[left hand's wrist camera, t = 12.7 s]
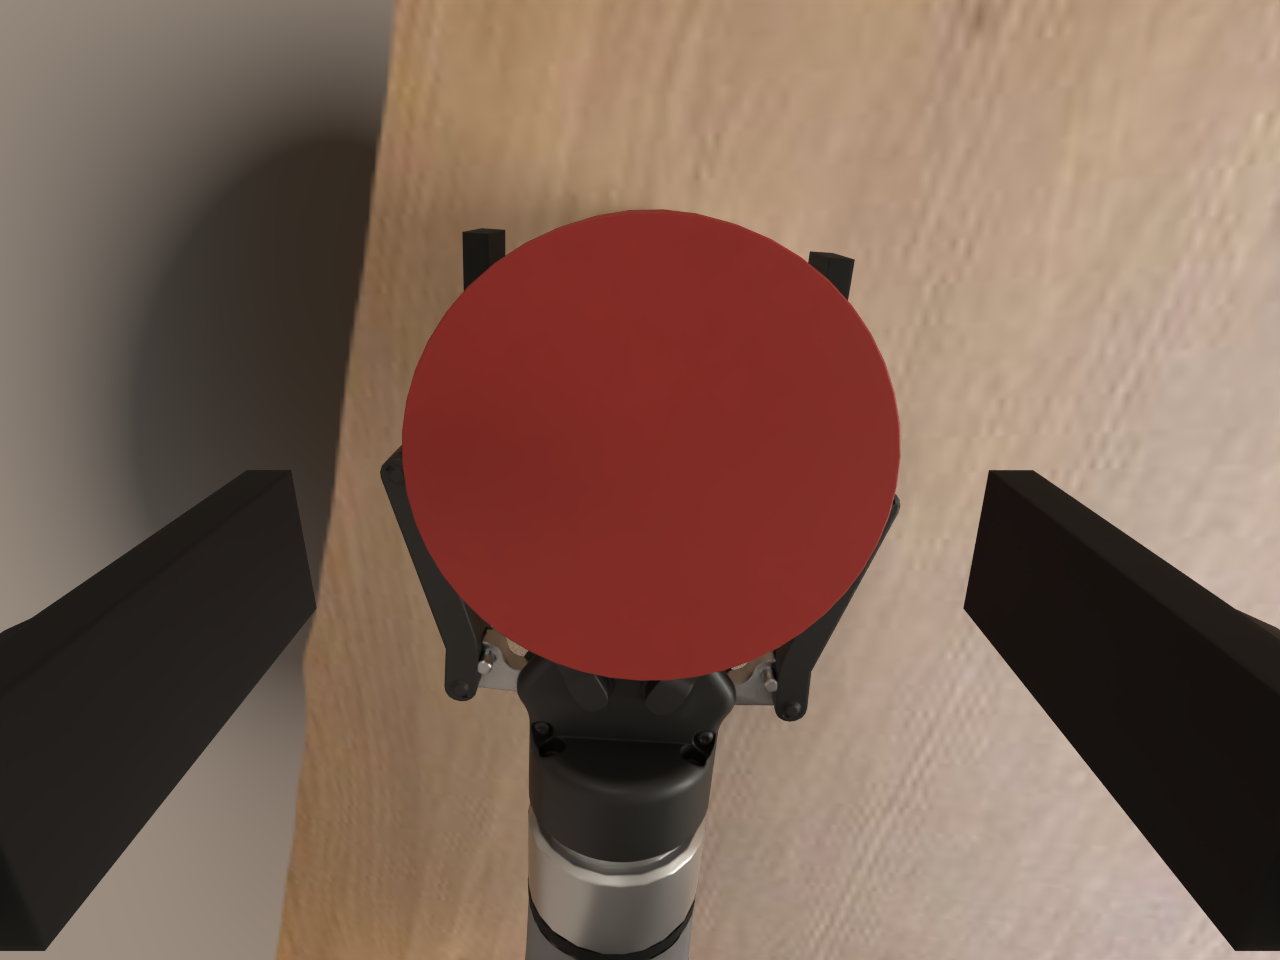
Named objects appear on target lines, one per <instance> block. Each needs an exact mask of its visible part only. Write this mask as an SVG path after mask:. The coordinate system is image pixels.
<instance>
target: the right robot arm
mask: <svg viewBox="0 0 1280 960" xmlns="http://www.w3.org/2000/svg"><path fill="white" fill-rule="evenodd" d="M503 257H505V230H498V229H484V228H481V229H476V230H471V231H466V232H463V274H464V291H465V290H466V288H467V287H468V286H469V285H470V284H471V283H473V282H474V281H475V280H476V279H477V278H478V277H479V276H480V275H482V274H483V273H484V272H485V271H486V270H487V269H488V268H490V267H491V266H492V265H493V264H494V263H495V262H497V261H499V260H500V259H502V258H503ZM854 261H855V260H854V259H851V258H847V257H844V256H841V255H837V254H834V253H824V252H810V255H809V262H808V263H809V264H810V265H811V266H812V267H814V268H815V269H816V270H817V271H818V272H820V273H821V274H822V275H823V276H825V277H826V278H827V279H828V280H829V281H830V282H831V283H832V284H833V285H834V286H835V287H836V288H837V290H838V291H839V292H840V293H841V294H842V295H843V296H844V297H845V298H846V299H847V300H848V296H849V291H850V285H851V279H852V273H853V267H854ZM380 474H381V479H382V482H383V484H384V487H385V490H386V492H387V495H388V498H389V500H390V503H391V506H392V508H393V511H394V513H395V516H396V519H397V521H398V524H399V527H400V529H401V532H402V534H403V537H404V540H405V542H406V545H407V548H408V550H409V553H410V556H411V558H412V561H413V563H414V566H415V569H416V571H417V574H418V577H419V579H420V582H421V585H422V587H423V590H424V592H425V595H426V598H427V600H428V603H429V606H430V608H431V611H432V614H433V616H434V619H435V621H436V624H437V627H438V629H439V632H440V635H441V637H442V640H443V643H444V645H445V648H446V661H445V691H446V693H447V694H448V696H450V697H451V698H453V699H454V700H458V701H467V700H469V699H472V697H473V696H474V695H475V694H476V691H477V688H478V687H484V688H493V689H502V690H511V691H517V692H518V695H519V697H520V699H521V701H522V702H523V704H524V705H525V707H526V709H527V711H528V714H529V718H530V744H529V798H530V805H529V810H528V873H529V875H528V892H529V906H528V925H527V944H526V957H525V960H689V947H690V936H691V924H692V914H693V907H694V903H695V895H696V889H697V885H698V879H699V872H700V865H701V857H702V850H703V843H704V836H705V828H706V811H707V808H708V802H709V794H710V787H711V779H712V772H713V764H714V757H715V749H716V742H717V735H718V730H719V727H720V725H721V723H722V721H723V720H724V718H725V717H726V716H727V715H728V714H729V713H730V711H731V710H732V708H733V706H734V705H774V708H775V712H776V714H777V716H778V717H779V718H781V719H782V720H784V721H796V720H798V719H800V718H802V717H803V716H804V714H805V713H806V710H807V704H808V695H809V686H810V677H811V671H812V669H813V667H814V666H815V664H816V662H817V660H818V658H819V656H820V655H821V653H822V651H823V649H824V647H825V645H826V644H827V642H828V640H829V638H830V636H831V635H832V633H833V631H834V629H835V627H836V625H837V624H838V622H839V620H840V618H841V616H842V614H843V613H844V611H845V609H846V607H847V605H848V603H849V602H850V600H851V598H852V596H853V594H854V593H855V591H856V589H857V587H858V585H859V583H860V582H861V580H862V578H863V576H864V574H865V572H866V571H867V569H868V567H869V565H870V563H871V562H872V560H873V558H874V556H875V554H876V552H877V551H878V549H879V547H880V545H881V543H882V541H883V540H884V538H885V536H886V534H887V532H888V530H889V529H890V527H891V525H892V523H893V521H894V520H895V518H896V516H897V514H898V512H899V509H900V500H899V498H898V497H897V495H896V494H895V495H894V499H893V503H892V507H891V511H890V515H889V518H888V520H887V522H886V525H885V527H884V530H883V532H882V535H881V537H880V540H879V542H878V544H877V546H876V548H875V549H874V551H873V553H872V555H871V556H870V558H869V560H868V562H867V563H866V565H865V567H864V569H863V570H862V572H861V573H860V574H859V576H858V577H857V578H856V580H855V581H854V582H853V583H852V585H851V586H850V587H849V589H848V590H847V591H846V593H845V594H844V595H843V596H842V597H841V598H840V599H839V600H838V601H837V602H836V603H835V604H834V605H833V606H832V607H831V608H830V609H829V610H828V611H827V612H826V614H824V615H823V616H822V617H821V618H819V619H818V620H817V621H816V622H815V623H813V624H812V625H811V626H810V627H808V628H807V629H806V630H805V631H803V632H802V633H801V634H799V635H797V636H796V637H794V638H793V639H791V640H790V641H788V642H786V643H785V644H783V645H782V646H780V647H779V648H777V649H775V650H773V651H771V652H769V653H766V654H764V655H762V656H760V657H758V658H756V659H754V660H752V661H749V662H748V663H747V664H746V665H745V666H744V667H743V668H740V669H737V670H731V668H729V669H727V670H723V671H719V672H715V673H710V674H706V675H702V676H698V677H690V678H682V679H674V680H629V679H619V678H610V677H605V676H600V675H595V674H591V673H586V672H581V671H578V670H575V669H572V668H569V667H566V666H563V665H560V664H557V663H554V662H552V661H550V660H548V659H546V658H543V657H541V656H539V655H537V654H535V653H533V652H530V651H528V652H527V653H526V655H525V656H524V657H523V656H518V655H516V654H514V653H513V652H512V651H511V650H510V649H509V647H508V643H507V639H506V638H505V636H504V635H502V634H501V633H500V632H498V631H497V630H496V629H495V628H493V627H491V625H489V624H488V623H487V622H486V621H484V620H483V619H482V618H481V617H480V616H479V615H478V614H477V613H476V612H475V611H473V610H472V609H471V608H470V607H469V606H468V605H467V604H466V603H465V602H464V601H463V600H462V599H461V598H460V596H459V595H458V594H457V593H456V591H455V590H454V589H453V588H452V586H451V585H450V584H449V582H448V581H447V580H446V579H445V577H444V576H443V575H442V573H441V572H440V570H439V568H438V567H437V565H436V563H435V562H434V560H433V558H432V557H431V555H430V553H429V552H428V550H427V548H426V546H425V543H424V541H423V539H422V537H421V534H420V532H419V530H418V527H417V525H416V523H415V520H414V516H413V513H412V509H411V506H410V502H409V499H408V495H407V491H406V484H405V477H404V470H403V464H402V445H401V446H400V447H399V448H398V449H397V450H396V451H395V452H394V454H393V455H392V456H391V457H390V458H389V459H388V460H387V461H386V462H385V463H384V464H383V465H382V467H381V471H380Z"/></svg>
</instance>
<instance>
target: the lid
mask: <svg viewBox="0 0 1280 960" xmlns="http://www.w3.org/2000/svg"><path fill="white" fill-rule="evenodd" d="M900 456H901V454H900V422H899V416H898V410H897V404H896V398H895V393H894V390H893V386H892V383H891V380H890V377H889V374H888V371H887V367H886V364H885V362H884V360H883V358H882V355H881V353H880V351H879V349H878V347H877V345H876V343H875V341H874V339H873V337H872V335H871V333H870V331H869V330H868V328H867V327H866V325H865V324H864V322H863V321H862V320H861V318H860V317H859V315H858V314H857V312H856V311H855V309H854V308H853V306H852V305H851V304H850V303H849V302H848V300H847V299H846V298H845V297H844V296H843V295H842V294H841V293H840V292H839V291H838V290H837V288H836V287H835V286H834V285H833V284H832V283H831V282H830V281H829V280H828V279H827V278H826V277H825V276H823V275H822V274H821V273H820V272H818V271H817V270H816V269H815V268H814V267H812V266H811V265H810V264H809V263H807V262H806V261H805V260H804V259H803V258H801V257H800V256H798V255H796V254H795V253H793V252H791V251H790V250H788V249H787V248H785V247H783V246H782V245H780V244H778V243H777V242H775V241H773V240H772V239H770V238H767V237H765V236H763V235H760V234H758V233H755V232H753V231H751V230H748V229H746V228H744V227H741V226H739V225H736V224H733V223H730V222H726V221H722V220H719V219H715V218H711V217H707V216H704V215H700V214H696V213H688V212H680V211H672V210H628V211H622V212H615V213H609V214H603V215H597V216H594V217H591V218H587V219H584V220H581V221H578V222H574V223H571V224H568V225H565V226H562V227H559V228H556V229H554V230H552V231H550V232H548V233H546V234H544V235H542V236H539V237H537V238H535V239H533V240H531V241H529V242H527V243H525V244H523V245H521V246H520V247H518V248H517V249H515V250H514V251H512V252H511V253H509V254H508V255H506V256H505V257H503V258H502V259H500V260H499V261H497V262H495V263H494V264H493V265H492V266H491V267H490V268H488V269H487V270H486V271H485V272H484V273H483V274H482V275H480V276H479V277H478V278H477V279H476V280H475V281H474V282H473V283H471V284H470V285H469V286H468V287H467V288H466V290H465V291H464V292H463V293H462V294H461V295H460V297H459V298H458V299H457V300H456V301H455V302H454V304H453V305H452V306H451V307H450V308H449V309H448V311H447V312H446V313H445V315H444V316H443V318H442V320H441V321H440V323H439V324H438V326H437V328H436V329H435V331H434V332H433V334H432V336H431V337H430V339H429V340H428V342H427V345H426V347H425V349H424V351H423V354H422V356H421V358H420V360H419V363H418V365H417V367H416V369H415V372H414V376H413V379H412V383H411V387H410V390H409V394H408V397H407V401H406V408H405V415H404V423H403V430H402V464H403V470H404V477H405V484H406V491H407V495H408V499H409V502H410V506H411V509H412V513H413V516H414V520H415V523H416V525H417V527H418V530H419V532H420V534H421V537H422V539H423V541H424V543H425V546H426V548H427V550H428V552H429V553H430V555H431V557H432V558H433V560H434V562H435V563H436V565H437V567H438V568H439V570H440V572H441V573H442V575H443V576H444V577H445V579H446V580H447V581H448V582H449V584H450V585H451V586H452V588H453V589H454V590H455V591H456V593H457V594H458V595H459V596H460V598H461V599H462V600H463V601H464V602H465V603H466V604H467V605H468V606H469V607H470V608H471V609H472V610H473V611H475V612H476V613H477V614H478V615H479V616H480V617H481V618H482V619H483V620H484V621H486V622H487V623H488V624H489V625H491V626H492V627H493V628H495V629H496V630H497V631H498V632H500V633H501V634H502V635H504V636H505V637H507V638H508V639H510V640H512V641H513V642H515V643H517V644H518V645H520V646H522V647H523V648H525V649H527V650H528V651H530V652H533V653H535V654H537V655H539V656H541V657H543V658H546V659H548V660H550V661H552V662H554V663H557V664H560V665H563V666H566V667H569V668H572V669H575V670H578V671H581V672H586V673H591V674H595V675H600V676H605V677H610V678H619V679H629V680H674V679H682V678H690V677H698V676H702V675H706V674H710V673H715V672H719V671H723V670H727V669H729V668H732V667H735V666H738V665H741V664H744V663H746V662H749V661H752V660H754V659H756V658H758V657H760V656H762V655H764V654H766V653H769V652H771V651H773V650H775V649H777V648H779V647H780V646H782V645H783V644H785V643H786V642H788V641H790V640H791V639H793V638H794V637H796V636H797V635H799V634H801V633H802V632H803V631H805V630H806V629H807V628H808V627H810V626H811V625H812V624H813V623H815V622H816V621H817V620H818V619H819V618H821V617H822V616H823V615H824V614H826V612H827V611H828V610H829V609H830V608H831V607H832V606H833V605H834V604H835V603H836V602H837V601H838V600H839V599H840V598H841V597H842V596H843V595H844V594H845V593H846V591H847V590H848V589H849V587H850V586H851V585H852V583H853V582H854V581H855V580H856V578H857V577H858V576H859V574H860V573H861V572H862V570H863V569H864V567H865V565H866V563H867V562H868V560H869V558H870V556H871V555H872V553H873V551H874V549H875V548H876V546H877V544H878V542H879V540H880V537H881V535H882V532H883V530H884V527H885V525H886V522H887V520H888V518H889V515H890V511H891V507H892V503H893V499H894V495H895V492H896V488H897V481H898V473H899V464H900Z"/></svg>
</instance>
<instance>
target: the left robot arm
mask: <svg viewBox="0 0 1280 960" xmlns="http://www.w3.org/2000/svg"><path fill="white" fill-rule="evenodd" d="M315 610H316V603H315V598H314V592H313V587H312V581H311V576H310V571H309V565H308V560H307V554H306V549H305V544H304V538H303V533H302V527H301V522H300V517H299V511H298V506H297V500H296V495H295V490H294V484H293V479H292V473H291V470H247V471H245V472H244V473H242V474H241V475H239V476H238V477H236V478H235V479H234V480H232V481H231V482H229V483H228V484H226V485H225V486H223V487H222V488H220V489H219V490H218V491H216V492H215V493H213V494H212V495H210V496H209V497H207V498H206V499H204V500H203V501H201V502H200V503H199V504H197V505H196V506H194V507H193V508H191V509H190V510H188V511H187V512H185V513H184V514H183V515H181V516H180V517H178V518H177V519H175V520H174V521H172V522H171V523H169V524H168V525H166V526H165V527H164V528H162V529H161V530H159V531H158V532H156V533H155V534H153V535H152V536H151V537H149V538H148V539H146V540H145V541H143V542H142V543H140V544H139V545H137V546H136V547H134V548H133V549H132V550H130V551H129V552H127V553H126V554H124V555H123V556H121V557H120V558H118V559H117V560H115V561H114V562H113V563H111V564H110V565H108V566H107V567H105V568H104V569H102V570H101V571H100V572H98V573H97V574H95V575H94V576H92V577H91V578H89V579H88V580H86V581H85V582H83V583H82V584H81V585H79V586H78V587H76V588H75V589H73V590H72V591H70V592H69V593H67V594H66V595H65V596H63V597H62V598H60V599H59V600H57V601H56V602H54V603H53V604H51V605H50V606H48V607H47V608H46V609H44V610H43V611H41V612H40V613H38V614H37V615H35V616H34V617H32V618H31V619H29V620H26V621H24V622H22V623H20V624H18V625H15V626H13V627H11V628H9V629H7V630H5V631H3V632H2V633H0V951H45V950H46V949H47V947H48V946H49V945H50V944H51V942H52V941H53V940H54V939H55V937H56V936H57V935H58V934H59V932H60V931H61V930H62V929H63V927H64V926H65V925H66V924H67V922H68V921H69V920H70V918H71V917H72V916H73V915H74V913H75V912H76V911H77V910H78V908H79V907H80V906H81V905H82V903H83V902H84V901H85V900H86V898H87V897H88V896H89V894H90V893H91V892H92V891H93V890H94V888H95V887H96V886H97V884H98V883H99V882H100V881H101V879H102V878H103V877H104V876H105V874H106V873H107V872H108V871H109V869H110V868H111V867H112V865H113V864H114V863H115V862H116V861H117V859H118V858H119V857H120V855H121V854H122V853H123V852H124V850H125V849H126V848H127V847H128V845H129V844H130V843H131V842H132V840H133V839H134V838H135V836H136V835H137V834H138V833H139V832H140V830H141V829H142V828H143V826H144V825H145V824H146V823H147V821H148V820H149V819H150V818H151V816H152V815H153V814H154V813H155V811H156V810H157V809H158V807H159V806H160V805H161V804H162V803H163V801H164V800H165V799H166V797H167V796H168V795H169V794H170V792H171V791H172V790H173V789H174V787H175V786H176V785H177V784H178V782H179V781H180V780H181V779H182V777H183V776H184V775H185V774H186V772H187V771H188V770H189V768H190V767H191V766H192V765H193V763H194V762H195V761H196V760H197V758H198V757H199V756H200V755H201V753H202V752H203V751H204V750H205V748H206V747H207V746H208V745H209V743H210V742H211V741H212V739H213V738H214V737H215V736H216V734H217V733H218V732H219V731H220V729H221V728H222V727H223V726H224V724H225V723H226V722H227V720H228V719H229V718H230V717H231V716H232V714H233V713H234V712H235V710H236V709H237V708H238V707H239V705H240V704H241V703H242V702H243V700H244V699H245V698H246V697H247V695H248V694H249V693H250V692H251V690H252V689H253V688H254V686H255V685H256V684H257V683H258V681H259V680H260V679H261V678H262V676H263V675H264V674H265V673H266V671H267V670H268V669H269V668H270V666H271V665H272V664H273V663H274V661H275V660H276V659H277V658H278V656H279V655H280V654H281V652H282V651H283V650H284V649H285V647H286V646H287V645H288V644H289V642H290V641H291V640H292V639H293V637H294V636H295V635H296V634H297V632H298V631H299V630H300V629H301V627H302V626H303V625H304V623H305V622H306V621H307V620H308V618H309V617H310V616H311V615H312V613H313V612H314V611H315ZM964 610H965V611H966V612H967V613H968V615H969V616H970V617H971V618H972V620H973V621H974V622H975V623H976V625H977V626H978V627H979V629H980V630H981V631H982V632H983V634H984V635H985V636H986V637H987V639H988V640H989V641H990V642H991V644H992V645H993V646H994V647H995V649H996V650H997V651H998V652H999V654H1000V655H1001V656H1002V658H1003V659H1004V660H1005V661H1006V663H1007V664H1008V665H1009V666H1010V668H1011V669H1012V670H1013V671H1014V673H1015V674H1016V675H1017V676H1018V678H1019V679H1020V680H1021V681H1022V683H1023V684H1024V685H1025V687H1026V688H1027V689H1028V690H1029V692H1030V693H1031V694H1032V695H1033V697H1034V698H1035V699H1036V700H1037V702H1038V703H1039V704H1040V705H1041V707H1042V708H1043V709H1044V710H1045V712H1046V713H1047V714H1048V716H1049V717H1050V718H1051V719H1052V721H1053V722H1054V723H1055V724H1056V726H1057V727H1058V728H1059V729H1060V731H1061V732H1062V733H1063V734H1064V736H1065V737H1066V738H1067V739H1068V741H1069V742H1070V743H1071V745H1072V746H1073V747H1074V748H1075V750H1076V751H1077V752H1078V753H1079V755H1080V756H1081V757H1082V758H1083V760H1084V761H1085V762H1086V763H1087V765H1088V766H1089V767H1090V768H1091V770H1092V771H1093V772H1094V774H1095V775H1096V776H1097V777H1098V779H1099V780H1100V781H1101V782H1102V784H1103V785H1104V786H1105V787H1106V789H1107V790H1108V791H1109V792H1110V794H1111V795H1112V796H1113V797H1114V799H1115V800H1116V801H1117V803H1118V804H1119V805H1120V806H1121V808H1122V809H1123V810H1124V811H1125V813H1126V814H1127V815H1128V816H1129V818H1130V819H1131V820H1132V821H1133V823H1134V824H1135V825H1136V826H1137V828H1138V829H1139V830H1140V832H1141V833H1142V834H1143V835H1144V837H1145V838H1146V839H1147V840H1148V842H1149V843H1150V844H1151V845H1152V847H1153V848H1154V849H1155V850H1156V852H1157V853H1158V854H1159V855H1160V857H1161V858H1162V859H1163V861H1164V862H1165V863H1166V864H1167V866H1168V867H1169V868H1170V869H1171V871H1172V872H1173V873H1174V874H1175V876H1176V877H1177V878H1178V879H1179V881H1180V882H1181V883H1182V884H1183V886H1184V887H1185V888H1186V890H1187V891H1188V892H1189V893H1190V895H1191V896H1192V897H1193V898H1194V900H1195V901H1196V902H1197V903H1198V905H1199V906H1200V907H1201V908H1202V910H1203V911H1204V912H1205V913H1206V915H1207V916H1208V917H1209V919H1210V920H1211V921H1212V922H1213V924H1214V925H1215V926H1216V927H1217V929H1218V930H1219V931H1220V932H1221V934H1222V935H1223V936H1224V937H1225V939H1226V940H1227V941H1228V942H1229V944H1230V945H1231V946H1232V947H1233V949H1234V950H1235V951H1280V630H1279V629H1278V628H1276V627H1274V626H1272V625H1270V624H1267V623H1265V622H1263V621H1261V620H1258V619H1256V618H1254V617H1252V616H1250V615H1247V614H1245V613H1243V612H1241V611H1238V610H1236V609H1234V608H1233V607H1232V606H1230V605H1229V604H1227V603H1226V602H1224V601H1223V600H1221V599H1220V598H1218V597H1217V596H1216V595H1214V594H1213V593H1211V592H1210V591H1208V590H1207V589H1205V588H1204V587H1202V586H1201V585H1199V584H1198V583H1197V582H1195V581H1194V580H1192V579H1191V578H1189V577H1188V576H1186V575H1185V574H1183V573H1182V572H1181V571H1179V570H1178V569H1176V568H1175V567H1173V566H1172V565H1170V564H1169V563H1167V562H1166V561H1165V560H1163V559H1162V558H1160V557H1159V556H1157V555H1156V554H1154V553H1153V552H1151V551H1150V550H1148V549H1147V548H1146V547H1144V546H1143V545H1141V544H1140V543H1138V542H1137V541H1135V540H1134V539H1132V538H1131V537H1130V536H1128V535H1127V534H1125V533H1124V532H1122V531H1121V530H1119V529H1118V528H1116V527H1115V526H1114V525H1112V524H1111V523H1109V522H1108V521H1106V520H1105V519H1103V518H1102V517H1100V516H1099V515H1097V514H1096V513H1095V512H1093V511H1092V510H1090V509H1089V508H1087V507H1086V506H1084V505H1083V504H1081V503H1080V502H1079V501H1077V500H1076V499H1074V498H1073V497H1071V496H1070V495H1068V494H1067V493H1065V492H1064V491H1063V490H1061V489H1060V488H1058V487H1057V486H1055V485H1054V484H1052V483H1051V482H1049V481H1048V480H1046V479H1045V478H1044V477H1042V476H1041V475H1039V474H1038V473H1036V472H1035V471H1033V470H989V473H988V479H987V484H986V490H985V495H984V500H983V506H982V511H981V517H980V522H979V527H978V533H977V538H976V544H975V549H974V554H973V560H972V565H971V571H970V576H969V581H968V587H967V592H966V598H965V603H964Z"/></svg>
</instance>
